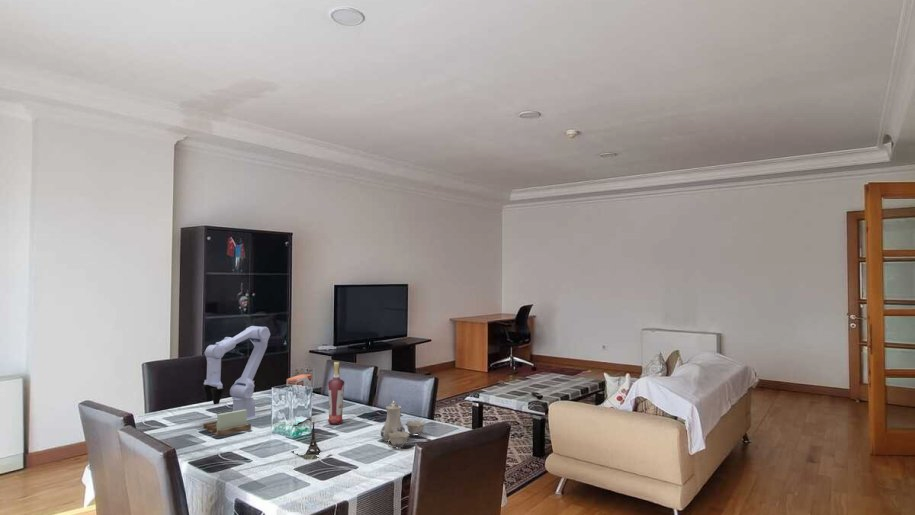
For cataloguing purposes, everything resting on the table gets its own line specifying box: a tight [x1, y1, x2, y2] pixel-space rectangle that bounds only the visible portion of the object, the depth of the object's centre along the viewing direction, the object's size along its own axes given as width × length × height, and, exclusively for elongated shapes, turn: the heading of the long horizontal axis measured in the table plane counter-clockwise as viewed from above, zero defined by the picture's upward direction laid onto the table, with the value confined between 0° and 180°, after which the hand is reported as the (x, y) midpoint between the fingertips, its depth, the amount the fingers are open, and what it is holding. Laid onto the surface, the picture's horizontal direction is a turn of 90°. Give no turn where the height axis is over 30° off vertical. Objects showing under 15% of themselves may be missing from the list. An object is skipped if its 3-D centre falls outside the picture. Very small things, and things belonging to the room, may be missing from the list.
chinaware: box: [380, 400, 427, 448], centre depth 221 cm, size 28×17×17 cm, turn 167°
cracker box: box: [285, 373, 313, 388], centre depth 247 cm, size 14×6×21 cm, turn 168°
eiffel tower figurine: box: [290, 421, 332, 461], centre depth 203 cm, size 15×10×13 cm
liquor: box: [327, 361, 345, 425], centre depth 246 cm, size 7×7×28 cm
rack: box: [202, 420, 252, 437], centre depth 232 cm, size 14×16×3 cm
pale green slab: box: [216, 409, 248, 434], centre depth 229 cm, size 12×2×8 cm, turn 137°
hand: (212, 402), depth 238 cm, fingers open, 7 cm apart
